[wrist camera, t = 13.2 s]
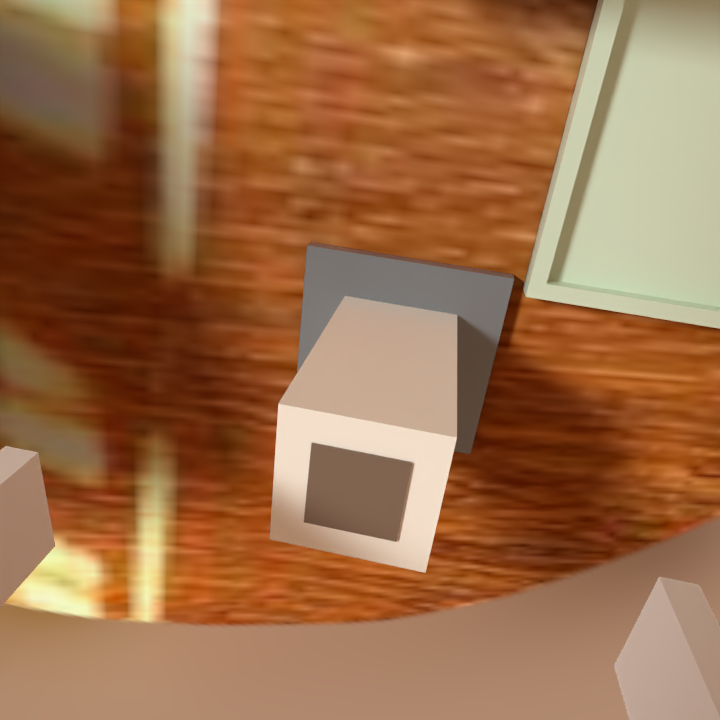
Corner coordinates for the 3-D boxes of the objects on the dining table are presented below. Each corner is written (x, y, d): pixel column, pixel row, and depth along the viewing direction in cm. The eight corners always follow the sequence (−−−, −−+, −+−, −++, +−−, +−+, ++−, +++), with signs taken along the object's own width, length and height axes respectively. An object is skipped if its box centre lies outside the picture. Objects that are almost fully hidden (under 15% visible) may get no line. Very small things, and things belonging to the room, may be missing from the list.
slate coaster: (310, 242, 22) (307, 245, 21) (513, 274, 21) (514, 278, 20) (296, 413, 25) (293, 420, 25) (470, 447, 24) (470, 454, 24)
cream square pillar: (344, 295, 22) (277, 405, 14) (459, 315, 21) (460, 440, 13) (333, 395, 24) (268, 543, 16) (438, 415, 23) (428, 577, 15)
